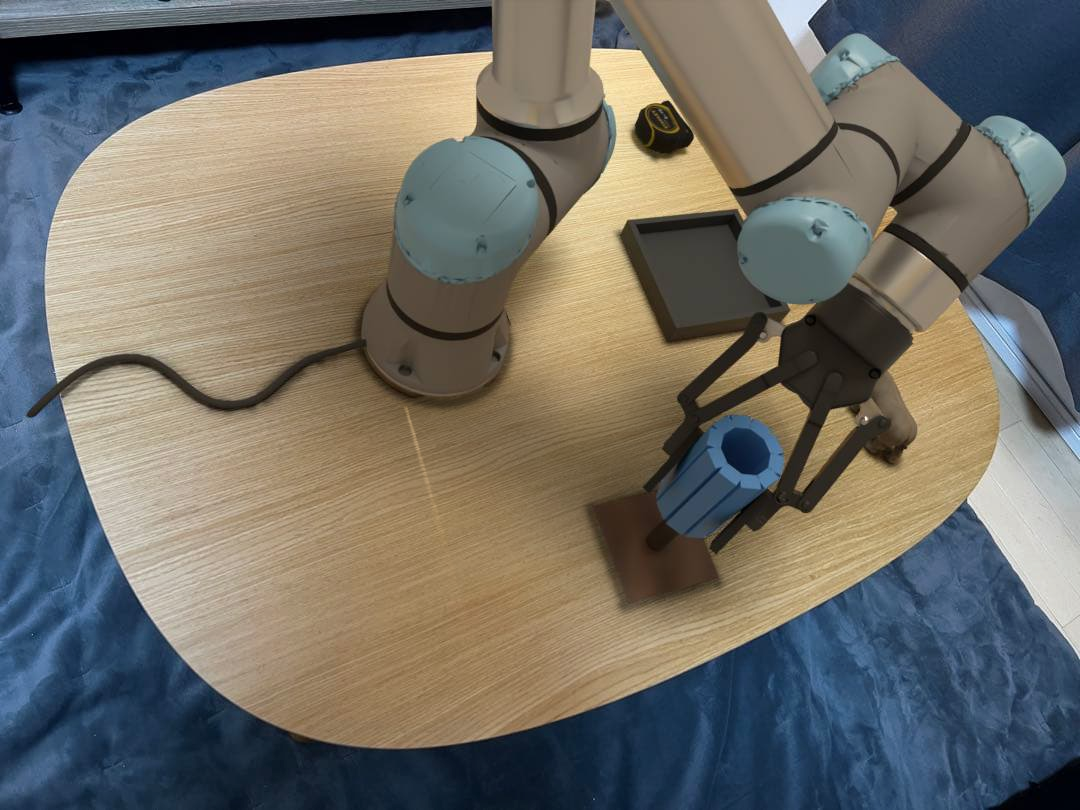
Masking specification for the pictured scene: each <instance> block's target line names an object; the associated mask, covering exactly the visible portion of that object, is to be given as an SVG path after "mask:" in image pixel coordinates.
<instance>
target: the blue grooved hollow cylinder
mask: <svg viewBox="0 0 1080 810" xmlns="http://www.w3.org/2000/svg"><path fill="white" fill-rule="evenodd" d="M704 432H705V433H704V434H703V435H702V436H701V437H700V439H699V440H698V441H697V442H696V443H695V444H694V445H693V447H692V448H691V449H690V450H689V451H688V452H687V453H686V454H685V455H684V456H683V457H682V459H681V460H680V461H679V462H678V463H677V464H676V465H675V466H674V467H673V468H672V469H671V470H670V472H669V473H668V474H667V475H666V476H665V477H664V478H663V479H662V480H661V481H660V482H659V484H658V489H657V491H658V492H657V496H656V498H657V499H659V500H658V501H657V502H656V503H657V505H658V508H659V510H660V513H661V515H662V518H663V520H664V519H668V521H667V522H666V524H667V525H669V526H670V527H671V528H673V529H674V530H675V531H677V532H678V533H679V534H680V535H682V534H683V533H684V532H685V537H694V538H703V539H704V538H705V537H706V538H708V537H710V536H711V535H712V534H714V533H715V532H717V531H719V529H721V528H722V527H723V526H725V524H726V525H727V523H728V522H730V521H731V520H733V519H734V518H735V517H736V515H737V514H738V513H739V512H740V511H741V510H742V509H744V508H745V507H746V506H747V505H748V504H750V503H751V502H752V501H753V500H754V499H756V498H757V497H758V496H759V495H760V494H762V493H763V492H764V491H765V490H767V489H769V488H770V487H772V486H773V485H774V484H776V483H777V482H778V481H779V480H780V477H781V475H782V473H783V470H784V462H785V457H784V456H783V454H785V453H784V450H783V447H782V446H781V444H780V441H779V440H778V437H777V435H776V434H771V433H772V432H773V430H772V429H771V428H770V427H768V426H767V425H765V424H764V423H763V422H762V421H760V420H759V419H757V418H756V417H754V418H753V419H752V418H751V416H750V415H743V414H735V413H731V414H730V415H728V414H726V415H724V416H723V417H721V418H720V419H718V420H716V421H715V422H713V423H712V424H711V425H710V426H709V427H708V429H706V431H704Z"/></svg>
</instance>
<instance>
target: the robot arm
mask: <svg viewBox="0 0 1080 810" xmlns="http://www.w3.org/2000/svg"><path fill="white" fill-rule="evenodd" d="M607 1H608V2H609V4H610V5H611V7H612V8H613V10H614V12H616V15H617V17H618V18H619V19H620V21H621V23H622V24H623V25H624V27H625V28H626V31H628V33H629V35H630V36H631V38H632V40H633V41H634V42H635V44H636V46H637V47H638V49H639V50H640V52H641V53H642V55H643V57H644V59H645V60H646V61H647V62H648V65H649V66H650V67H651V69H652V71H653V72H654V74H655V75H656V76H657V78H658V80H659V81H660V83H661V85H662V86H663V88H664V89H665V90H666V93H667V94H668V96H669V97H670V99H671V100H672V102H673V103H674V105H675V107H676V108H677V109H678V111H679V114H680V115H681V117H682V118H683V120H684V121H685V122H686V124H687V125H688V126H689V127H690V129H691V130H692V132H693V134H694V137H695V138H696V139H697V141H698V142H699V143H700V145H701V147H702V148H703V150H704V151H705V153H706V155H707V156H708V158H709V159H710V161H711V162H712V164H713V165H714V167H715V169H716V170H717V172H718V173H719V175H720V177H721V178H722V180H723V181H724V182H725V184H726V186H727V187H728V189H729V190H730V192H731V193H732V196H733V197H734V200H735V201H736V203H737V204H738V205H739V207H740V208H741V210H742V211H743V213H744V214H745V216H746V217H745V218H744V219H743V220H744V221H743V224H742V227H743V228H742V230H741V233H740V235H739V238H738V242H737V253H738V258H739V265H740V267H741V270H742V272H743V273H744V275H745V276H746V278H747V279H748V280H749V281H750V283H751V284H752V285H753V286H755V287H756V288H757V289H759V290H760V291H761V292H762V293H764V294H765V295H767V296H769V297H771V298H773V299H775V300H778V301H781V302H785V303H787V304H788V305H798V306H804V305H812V307H811V308H810V309H809V310H808V311H807V312H806V314H805V315H804V316H802V318H800V319H798V320H797V321H794V322H791V323H789V324H787V325H786V324H783V323H782V322H780V323H779V322H777V321H775V320H773V319H771V318H769V317H767V315H766V314H764V313H763V312H757V313H755V314H754V315H753V316H752V318H751V320H750V322H749V324H748V326H747V328H746V329H744V331H743V333H742V335H741V336H740V337H738V339H737V340H735V342H733V343H732V344H731V345H730V346H729V347H728V348H727V349H726V350H724V351H723V352H722V353H721V354H720V355H718V357H717V358H716V359H714V360H713V362H711V363H710V364H709V365H708V366H707V367H706V368H705V369H704V370H702V371H701V372H700V374H698V375H697V376H696V377H695V378H694V379H693V380H692V381H691V382H689V383H688V384H687V386H685V387H684V388H683V389H682V390H681V391H679V393H678V394H677V395H676V401H677V404H678V405H680V407H681V409H682V411H683V413H684V419H683V421H682V423H681V424H680V425H679V426H678V427H676V429H675V430H674V432H672V433H671V434H670V436H669V437H668V438H667V439H666V440H665V441H664V442H663V445H662V447H661V450H662V451H663V452H664V453H665V454H666V455H668V456H669V458H667V460H666V461H665V462H664V463H663V464H662V465H661V467H660V468H659V469H658V470H657V471H656V472H655V473H654V474H653V475H652V476H651V477H650V478H649V480H648V481H647V482H646V483H645V484H644V485H642V489H643V490H645V492H647V493H651V492H653V490H654V489H655V488H656V487H657V486H659V485H660V482H661V481H662V479H663V478H664V477H665V476H666V475H667V474H668V473H669V472H670V470H671V469H672V468H673V467H674V466H675V465H676V464H677V463H678V462H679V461H680V460H681V459H682V457H683V456H684V455H685V454H686V453H687V452H688V451H689V450H690V449H691V448H692V447H693V445H694V444H695V443H696V442H697V441H698V440H699V439H700V437H701V436H702V435H703V434H704V433H705V432H706V431H704V430H703V429H701V428H700V426H701V425H703V424H706V423H707V422H709V421H712V420H713V419H715V418H716V417H718V416H721V415H722V414H724V413H726V412H728V411H730V410H732V409H733V408H735V407H738V406H739V405H742V403H745V402H747V401H749V400H750V399H752V398H754V397H757V396H758V395H759V394H762V393H764V392H765V391H767V390H769V389H771V388H773V387H775V386H777V385H779V384H780V385H782V386H783V387H784V388H785V389H786V390H787V391H789V392H792V393H794V394H796V395H797V396H798V398H799V399H800V400H801V402H802V403H803V404H804V405H805V406H806V407H807V408H808V409H809V411H808V413H807V416H806V419H805V421H804V423H803V425H802V428H801V430H800V433H799V435H798V437H797V438H796V442H795V444H794V446H793V448H792V450H791V453H790V455H789V458H788V459H787V461H786V463H785V466H784V467H783V470H782V475H781V476H780V477H779V480H778V481H777V485H776V487H775V488H774V489H773V490H772V491H771V490H770V489H769V488H768V489H767V490H765V491H764V492H763V493H762V494H760V495H759V496H758V497H757V498H756V499H754V500H753V501H752V502H751V503H750V504H748V505H747V506H746V507H745V508H744V509H742V510H741V511H740V512H739V513H738V514H736V515H735V516H734V517H733V518H732V519H731V520H730V521H729V523H728V524H726V526H725V527H723V528H722V530H721V531H720V532H719V533H718V534H717V535H716V536H715V537H714V538H713V539H712V540H711V542H710V545H709V548H708V549H709V550H710V551H711V552H712V553H713V554H714V555H717V554H718V553H720V552H721V550H723V548H724V547H725V546H726V545H727V544H728V543H729V542H730V541H731V540H732V539H733V538H734V537H735V536H736V535H737V534H738V533H739V532H740V531H741V530H742V529H743V528H744V526H746V527H747V528H748V529H750V530H751V531H752V532H753V533H755V532H757V531H760V530H761V529H762V528H763V527H764V526H765V525H766V524H767V523H768V522H769V521H770V520H771V519H773V517H774V516H775V514H777V513H778V511H780V510H781V509H782V508H784V507H790V508H793V509H796V510H797V511H799V512H801V513H802V514H810V513H811V512H813V510H814V509H815V508H816V507H817V505H818V504H819V503H820V501H821V500H822V499H823V498H824V496H825V495H826V494H827V493H828V491H830V489H831V488H832V487H833V485H834V484H835V483H836V482H837V481H838V480H839V478H840V477H841V475H843V473H844V472H845V470H846V469H847V468H848V467H849V466H850V464H851V463H852V462H853V460H855V458H856V457H857V456H858V455H859V453H860V452H861V451H862V450H863V448H864V447H865V445H866V443H867V442H868V441H870V440H874V439H875V438H876V437H879V435H880V434H881V433H883V432H885V431H886V430H888V429H889V428H890V426H891V422H890V419H889V418H888V417H887V416H885V415H884V414H882V412H881V411H880V409H879V408H878V406H877V405H876V404H875V402H874V401H873V399H872V398H871V396H872V395H873V391H874V387H875V385H876V383H877V381H878V380H879V379H880V378H881V377H882V376H883V374H884V373H885V372H886V371H889V370H890V369H891V368H892V367H893V365H894V364H896V362H898V360H899V359H900V358H901V357H902V356H903V355H904V354H905V353H906V352H907V351H908V350H909V349H910V348H911V347H912V346H913V345H914V342H913V341H914V336H913V334H914V332H917V333H925V332H927V330H929V328H931V326H932V325H933V324H934V323H936V321H937V320H938V319H939V318H940V317H941V316H942V315H943V314H944V313H945V311H946V310H947V309H948V308H950V306H951V305H952V304H953V303H954V302H955V301H956V300H957V299H959V297H960V296H961V294H962V293H963V292H964V291H965V290H966V289H968V286H970V284H971V283H972V282H973V281H974V280H975V279H976V278H977V277H978V276H980V274H982V272H984V270H985V269H986V268H987V267H988V266H989V265H990V264H991V263H992V262H993V261H995V259H997V258H998V256H999V255H1000V254H1002V252H1003V251H1005V249H1006V248H1008V247H1009V245H1011V243H1013V241H1014V240H1016V239H1017V238H1018V237H1019V236H1020V234H1022V232H1024V231H1026V230H1027V229H1029V227H1031V226H1032V225H1033V222H1034V220H1035V219H1037V217H1038V216H1039V215H1040V213H1041V212H1042V211H1043V210H1044V209H1045V208H1046V207H1047V206H1048V204H1049V203H1050V202H1051V201H1052V200H1053V199H1054V196H1055V195H1056V194H1057V193H1058V192H1059V190H1060V189H1061V188H1062V187H1063V185H1064V183H1065V180H1066V178H1067V167H1066V163H1065V160H1064V158H1063V157H1062V155H1061V154H1060V152H1059V151H1058V149H1057V148H1056V147H1055V146H1054V145H1053V144H1052V143H1051V142H1050V141H1049V139H1047V138H1045V136H1043V135H1042V134H1040V133H1039V132H1036V131H1034V130H1032V129H1031V128H1030V127H1029V126H1028V125H1027V124H1025V123H1024V122H1022V121H1020V120H1017V119H1015V118H1013V117H1010V116H1005V115H992V116H989V117H987V118H985V119H984V120H983V121H981V122H980V123H979V124H978V125H975V126H972V125H971V124H970V123H966V121H964V120H963V119H962V118H961V117H960V115H958V114H957V113H956V112H955V111H953V109H951V108H950V107H949V106H948V105H947V104H946V103H945V102H944V101H943V100H942V99H941V98H940V97H938V95H936V93H934V92H933V91H932V90H931V89H929V87H928V86H926V85H925V84H924V83H923V82H922V81H921V80H920V79H919V78H917V76H916V75H914V74H913V72H911V71H910V70H909V68H907V67H906V66H905V65H904V64H902V63H901V60H900V59H899V57H898V56H895V55H892V54H890V53H889V52H888V51H887V50H885V49H884V48H882V47H881V46H880V45H879V44H877V43H876V42H875V41H873V40H872V39H870V37H868V36H867V35H865V34H862V33H851V34H849V35H847V36H845V37H844V38H842V39H841V40H840V41H839V42H838V43H837V44H836V45H835V46H833V48H832V49H830V50H829V51H828V53H827V54H825V56H824V57H823V58H822V59H821V60H820V61H819V63H818V64H817V65H815V67H814V68H813V69H812V70H811V71H810V73H809V72H808V70H807V68H806V66H805V65H804V63H803V62H802V60H801V57H800V55H798V52H797V51H796V49H795V47H794V45H793V43H792V42H791V40H790V38H789V36H788V35H787V33H786V31H785V29H784V27H783V26H782V24H781V22H780V20H779V18H778V17H777V15H776V13H775V11H774V10H773V8H772V6H771V4H770V2H769V1H768V0H607ZM596 2H597V0H491V13H492V14H491V16H492V17H491V26H492V27H491V30H492V31H491V33H492V35H491V37H492V40H491V42H492V43H491V48H492V49H491V50H492V52H491V53H492V61H490V62H489V63H488V64H487V65H485V67H483V69H482V70H481V71H480V72H479V74H478V77H477V78H476V83H475V100H476V101H475V104H476V105H475V108H476V111H475V112H476V122H475V123H476V124H475V127H474V129H473V131H472V133H471V134H470V135H465V136H463V138H462V140H460V141H458V140H456V139H455V138H454V137H449V138H445V139H442V140H440V141H438V142H435V143H433V144H431V145H430V146H428V147H427V148H425V149H423V151H421V152H420V153H419V154H417V156H416V157H415V158H414V159H413V160H412V162H411V163H410V164H409V165H408V168H407V169H406V171H405V174H404V176H403V177H402V182H401V185H400V189H399V191H398V193H397V194H396V198H395V203H394V210H393V216H392V218H393V227H392V236H391V242H390V250H389V251H390V252H389V259H388V267H387V274H386V277H385V278H384V280H383V282H381V284H380V285H379V286H378V288H376V289H375V290H374V292H373V293H372V295H371V296H370V298H369V300H368V302H367V304H366V305H365V309H364V310H363V311H364V312H363V315H362V321H361V329H360V331H361V332H360V339H359V340H356V341H351V342H350V343H349V342H348V343H345V344H342V345H339V346H337V347H332V348H327V349H323V350H320V351H318V352H315V353H312V354H310V355H308V356H306V357H304V358H302V359H300V360H299V361H296V363H294V364H293V365H291V366H290V367H289V368H288V369H286V371H284V372H283V373H282V374H281V375H280V376H278V378H276V379H275V380H274V381H273V382H271V384H269V385H268V386H267V387H265V388H264V389H263V390H262V391H260V392H258V393H256V394H255V395H252V396H250V397H246V398H243V399H236V400H222V399H218V398H215V397H211V396H210V395H207V394H205V393H203V392H202V391H200V390H199V389H197V388H196V387H195V386H193V385H192V384H191V383H189V382H188V381H187V380H186V379H185V378H183V377H182V376H181V375H180V374H179V373H178V372H177V371H175V370H174V369H173V368H171V367H170V366H168V365H167V364H166V363H164V362H162V361H161V360H158V359H156V358H154V357H151V356H149V355H144V354H141V353H140V354H139V353H120V354H113V355H109V356H104V357H100V358H97V359H95V360H93V361H90V362H88V363H86V364H84V365H81V366H80V367H78V368H76V369H75V370H74V371H72V372H71V373H69V374H68V375H66V376H65V377H64V378H63V379H62V380H59V382H58V383H56V384H55V385H54V386H53V387H52V388H51V389H50V390H49V391H47V392H46V393H45V394H44V395H43V396H42V397H41V398H40V399H39V400H38V401H37V402H35V404H34V405H32V406H31V408H30V409H29V410H28V411H27V412H26V414H25V416H26V417H27V419H32V418H35V417H36V416H38V415H39V413H40V412H41V411H42V410H44V409H45V408H46V407H47V406H48V405H49V404H50V403H51V402H52V401H53V400H54V399H55V398H56V397H57V396H58V395H60V394H61V392H63V391H64V390H65V389H66V388H67V387H69V386H70V385H71V384H72V383H74V382H75V381H77V380H78V379H80V378H81V377H83V376H84V375H86V374H88V373H90V372H92V371H94V370H95V369H98V368H101V367H104V366H107V365H111V364H115V363H123V362H137V363H142V364H146V365H149V366H152V367H154V368H155V369H157V370H159V371H160V372H162V373H163V374H165V375H166V376H167V377H169V378H170V379H171V380H172V381H174V382H175V384H177V385H178V386H179V387H181V389H183V390H184V391H185V392H186V393H188V394H189V395H191V397H194V398H195V399H197V400H198V401H200V402H203V403H204V404H206V405H209V406H213V407H216V408H220V409H239V408H245V407H248V406H252V405H255V404H257V403H259V402H261V401H263V400H265V399H266V398H268V397H269V396H271V395H272V394H273V393H274V392H276V390H278V389H279V388H280V387H282V386H283V384H285V383H286V382H287V381H288V380H289V379H290V378H291V377H292V376H294V375H295V374H296V373H298V372H299V371H301V370H302V369H303V368H305V367H306V366H308V365H311V364H312V363H314V362H317V361H319V360H322V359H326V358H329V357H333V356H337V355H341V354H344V353H347V352H350V351H354V350H358V349H360V348H362V350H363V353H364V356H365V357H366V359H367V360H366V361H367V362H368V363H369V366H370V367H371V368H372V369H373V371H374V372H375V373H376V374H377V375H378V376H379V378H381V379H382V380H383V381H384V383H386V384H387V385H389V386H390V387H392V388H393V389H396V391H398V392H400V393H402V394H404V395H407V396H410V397H412V398H416V399H419V398H423V397H425V398H426V397H427V398H432V399H450V398H456V397H462V396H465V395H469V394H471V393H474V392H476V391H478V390H480V389H481V388H484V387H487V386H489V385H490V384H491V383H492V382H493V381H494V379H496V377H497V376H498V375H499V373H500V371H501V369H502V367H503V364H504V362H505V360H506V357H507V354H508V351H509V345H510V344H509V343H510V329H509V327H510V328H512V324H511V320H510V318H509V315H508V313H507V311H506V305H507V301H508V299H509V296H510V293H511V290H512V287H513V285H514V282H515V279H517V276H518V274H519V273H520V271H521V269H522V268H523V266H524V265H525V264H526V263H527V262H528V261H529V260H530V258H531V257H532V256H533V254H534V253H535V252H536V251H537V250H538V248H539V247H540V246H541V245H542V244H543V243H544V241H545V240H546V239H547V238H548V237H549V236H550V234H552V232H553V231H554V230H555V229H556V228H557V226H558V225H559V224H560V223H561V222H562V220H564V218H565V217H566V216H567V215H568V213H569V212H570V211H571V210H572V209H573V208H574V206H575V205H576V204H577V203H578V202H579V200H581V198H582V197H583V196H584V195H585V194H586V193H588V192H589V191H590V190H591V189H592V188H593V187H594V186H595V185H596V184H597V182H598V181H599V180H600V178H601V176H602V174H603V173H604V172H605V170H606V168H607V165H608V164H609V163H610V161H611V159H612V156H613V154H614V152H615V151H614V150H615V146H616V142H617V122H616V117H615V112H614V108H613V107H612V105H611V104H608V103H607V102H606V100H605V98H606V93H605V91H604V83H603V80H602V78H601V77H600V74H598V73H597V71H596V70H594V68H592V67H591V56H592V47H593V33H594V26H595V23H594V22H595V15H596V14H595V13H596V4H597V3H596ZM889 207H890V208H892V209H893V210H894V211H895V212H896V214H895V215H894V217H893V218H892V220H891V221H890V222H889V223H887V225H886V226H885V227H884V228H883V230H881V231H880V233H878V235H877V236H876V234H877V232H878V230H879V228H880V225H881V224H882V222H883V219H884V217H885V215H886V213H887V211H888V209H889ZM813 304H814V305H813ZM774 337H778V338H779V337H780V342H779V349H778V360H777V365H776V366H774V367H773V368H770V369H769V370H767V371H766V372H764V373H761V374H760V375H758V376H756V377H754V378H753V379H751V380H749V381H747V382H745V383H743V384H742V385H739V386H737V387H735V388H734V389H732V390H730V391H728V392H727V393H725V394H723V395H722V396H719V397H717V398H715V399H714V400H712V401H710V402H708V403H706V404H704V405H702V406H701V405H700V403H699V402H698V400H697V399H698V398H699V397H700V396H701V395H702V394H703V393H705V391H706V390H708V389H709V388H710V387H711V386H712V385H713V384H714V383H715V382H717V381H718V380H719V379H720V378H721V377H722V376H723V375H724V374H725V373H726V372H727V371H729V369H731V368H732V367H733V366H734V365H735V364H737V362H738V361H739V360H741V359H742V358H743V357H744V356H746V354H748V353H749V352H750V351H751V350H752V348H754V347H755V345H756V344H757V343H758V342H759V343H762V344H765V343H768V342H769V341H770V340H771V339H772V338H774ZM857 404H860V407H861V409H860V412H859V413H857V414H856V415H855V417H854V423H855V425H856V426H855V427H854V428H852V429H851V431H849V433H848V434H847V435H846V436H845V437H844V439H843V440H842V441H841V443H840V444H839V445H838V446H837V448H836V449H835V450H834V451H833V453H832V454H831V455H830V456H829V458H828V459H827V460H826V462H824V464H823V465H822V467H821V468H820V469H819V470H818V472H816V474H815V475H814V477H812V479H811V480H810V482H809V483H808V484H807V485H806V486H805V488H803V490H802V491H800V490H797V489H796V486H797V483H799V479H800V478H801V475H802V473H803V470H804V468H805V466H806V464H807V462H808V460H809V458H810V455H811V453H812V451H813V448H814V447H815V444H816V442H817V439H818V438H819V435H820V433H821V431H822V429H823V426H824V425H825V422H826V420H827V418H828V415H830V411H832V410H836V409H837V410H838V409H841V408H847V407H850V406H852V405H857Z"/></svg>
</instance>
